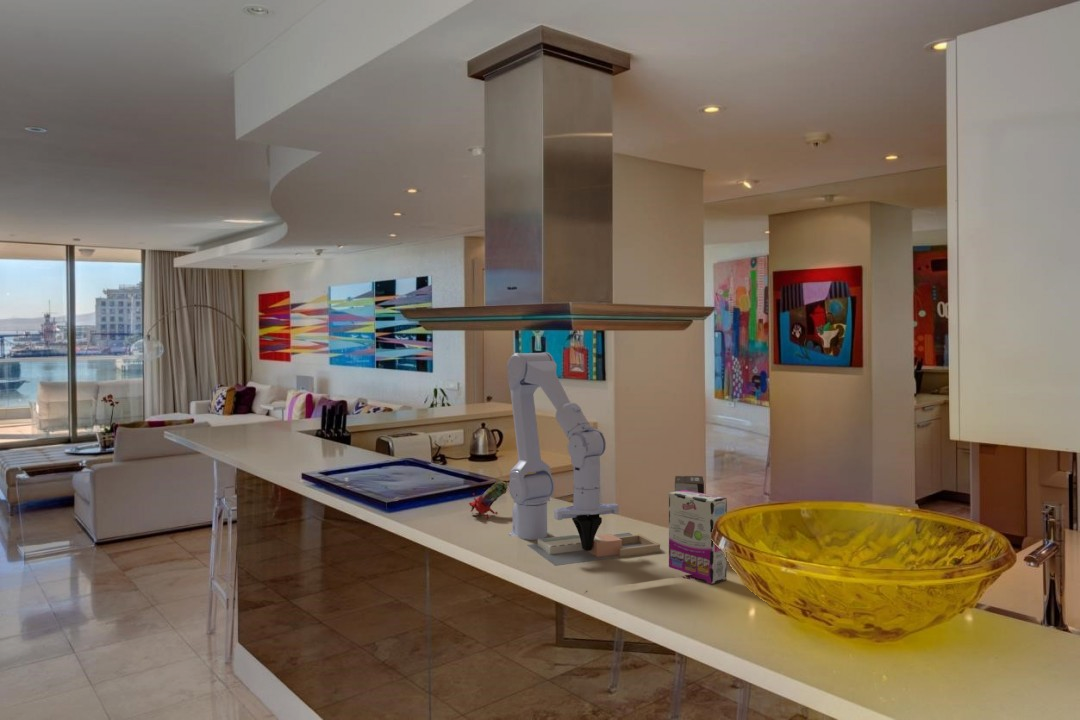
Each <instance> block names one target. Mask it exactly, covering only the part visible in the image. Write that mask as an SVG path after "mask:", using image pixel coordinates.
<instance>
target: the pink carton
mask: <svg viewBox="0 0 1080 720" xmlns="http://www.w3.org/2000/svg"><path fill="white" fill-rule="evenodd" d="M620 548H622V540H621V539H620V538H618V537H616V536H614V534H612V533H609V534H600V535H595V538H594V541H593V545H592V550H590V551H589V552H590V553H592V554H593V555H595V556H597V557H599V556H607V555H615V554H619V549H620Z"/></svg>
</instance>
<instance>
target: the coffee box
mask: <svg viewBox="0 0 1080 720" xmlns="http://www.w3.org/2000/svg"><path fill="white" fill-rule="evenodd" d="M679 490H687V491H692V492H698V493H703V494H705V481H704V477H703V476H700V475H675V477H674V492H675V491H679Z"/></svg>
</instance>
